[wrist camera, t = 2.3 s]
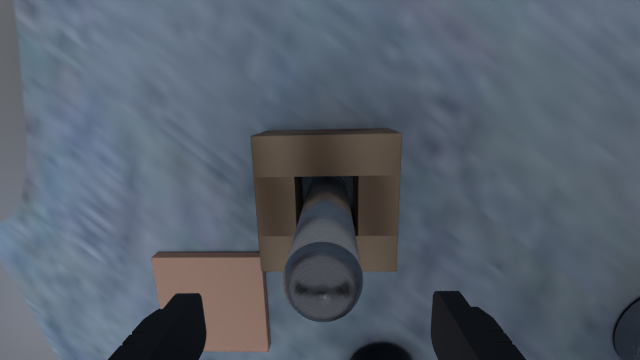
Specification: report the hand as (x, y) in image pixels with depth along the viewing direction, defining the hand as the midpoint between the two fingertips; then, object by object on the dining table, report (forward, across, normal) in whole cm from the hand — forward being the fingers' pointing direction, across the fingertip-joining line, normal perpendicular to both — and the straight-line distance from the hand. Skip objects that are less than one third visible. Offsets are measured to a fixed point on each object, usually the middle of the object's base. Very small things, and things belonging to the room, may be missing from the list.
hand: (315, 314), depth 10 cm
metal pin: (+16, 0, 0) cm, 16 cm away
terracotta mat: (+16, +11, +11) cm, 22 cm away
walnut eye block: (+16, 0, 0) cm, 16 cm away
